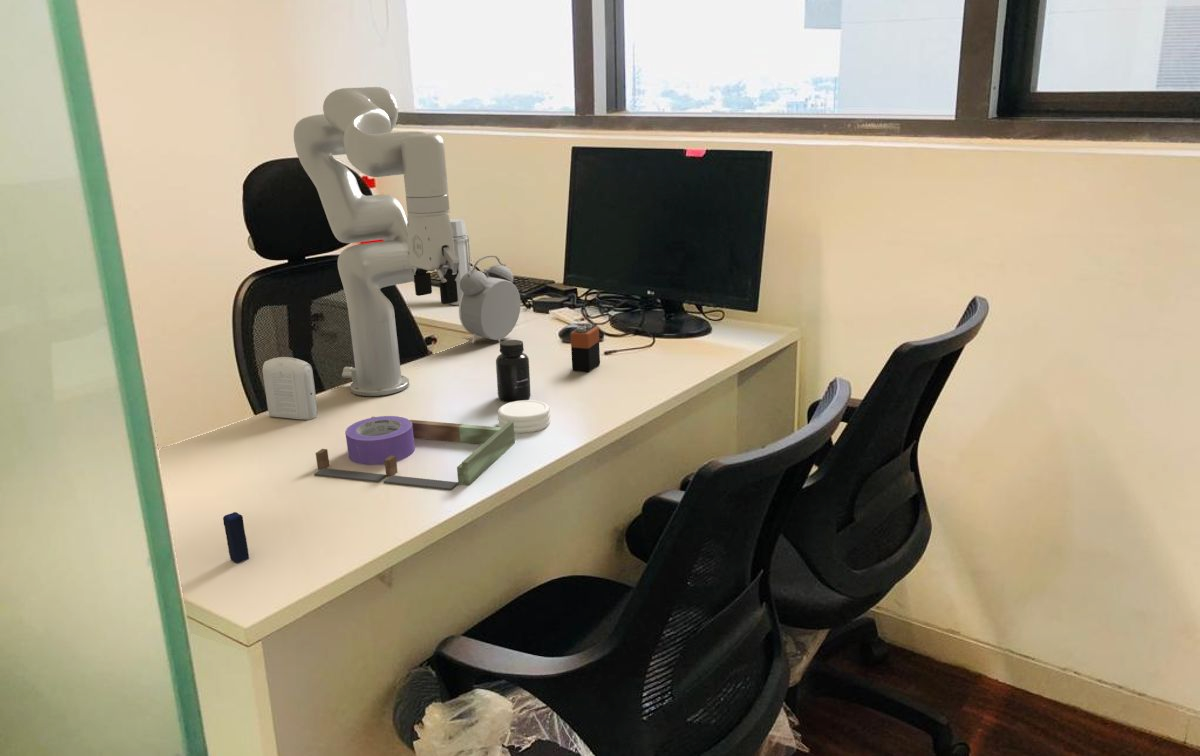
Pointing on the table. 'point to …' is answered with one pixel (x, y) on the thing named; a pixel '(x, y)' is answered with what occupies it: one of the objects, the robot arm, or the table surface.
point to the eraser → (236, 537)
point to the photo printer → (290, 388)
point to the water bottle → (461, 251)
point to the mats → (392, 479)
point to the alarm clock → (489, 302)
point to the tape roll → (380, 439)
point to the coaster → (525, 415)
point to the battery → (585, 348)
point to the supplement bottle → (512, 372)
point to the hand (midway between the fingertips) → (436, 298)
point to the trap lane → (473, 465)
